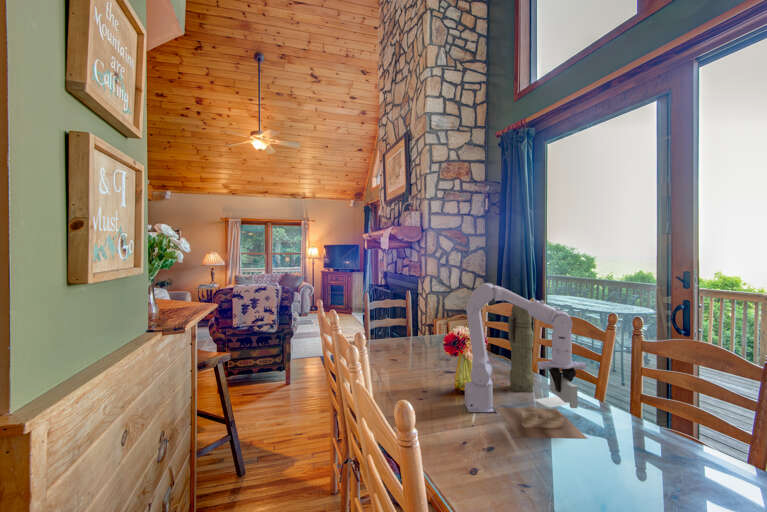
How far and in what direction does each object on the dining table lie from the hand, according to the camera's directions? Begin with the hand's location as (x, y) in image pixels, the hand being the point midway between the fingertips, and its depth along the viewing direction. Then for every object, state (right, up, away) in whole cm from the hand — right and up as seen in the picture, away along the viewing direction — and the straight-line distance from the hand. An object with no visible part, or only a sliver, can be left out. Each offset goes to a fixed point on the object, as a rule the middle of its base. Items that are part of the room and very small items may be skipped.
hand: (561, 391), depth 113 cm
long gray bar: (0, -2, -1) cm, 2 cm away
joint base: (-9, -10, -2) cm, 13 cm away
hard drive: (+4, -11, +14) cm, 18 cm away
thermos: (-2, -10, +28) cm, 29 cm away
